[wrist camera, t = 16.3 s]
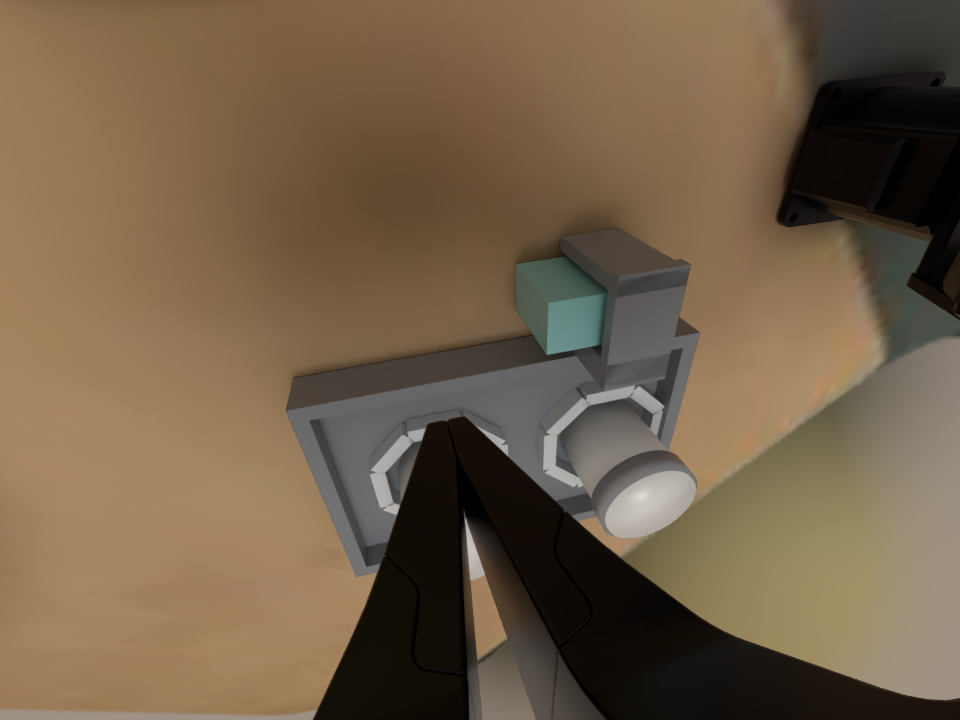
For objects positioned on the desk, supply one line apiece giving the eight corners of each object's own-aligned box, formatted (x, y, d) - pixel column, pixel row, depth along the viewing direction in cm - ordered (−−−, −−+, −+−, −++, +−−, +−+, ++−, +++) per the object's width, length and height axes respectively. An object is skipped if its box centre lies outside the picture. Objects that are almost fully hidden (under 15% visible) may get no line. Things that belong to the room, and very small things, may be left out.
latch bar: (627, 247, 21) (682, 280, 18) (621, 292, 23) (671, 331, 19) (515, 263, 20) (548, 302, 17) (516, 309, 22) (546, 354, 18)
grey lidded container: (565, 400, 24) (617, 480, 20) (646, 390, 26) (714, 463, 21) (551, 465, 27) (594, 548, 23) (625, 453, 29) (680, 530, 24)
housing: (691, 214, 21) (781, 249, 17) (635, 474, 32) (680, 538, 28) (253, 275, 18) (216, 340, 13) (356, 541, 29) (355, 626, 24)
